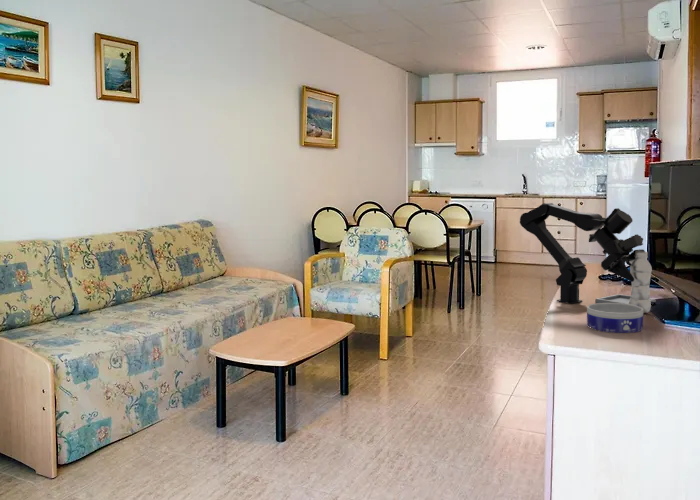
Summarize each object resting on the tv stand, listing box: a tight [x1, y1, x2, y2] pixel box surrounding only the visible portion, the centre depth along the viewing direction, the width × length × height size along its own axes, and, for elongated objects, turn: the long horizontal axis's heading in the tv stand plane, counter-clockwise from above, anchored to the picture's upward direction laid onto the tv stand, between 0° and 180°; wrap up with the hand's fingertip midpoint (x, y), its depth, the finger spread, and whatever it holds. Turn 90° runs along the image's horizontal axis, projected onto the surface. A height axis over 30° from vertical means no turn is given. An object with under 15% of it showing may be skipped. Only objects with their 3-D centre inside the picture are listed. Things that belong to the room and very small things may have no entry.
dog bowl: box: [586, 303, 644, 334], centre depth 180 cm, size 15×15×6 cm
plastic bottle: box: [629, 250, 653, 314], centre depth 196 cm, size 6×7×20 cm
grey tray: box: [594, 293, 657, 304], centre depth 213 cm, size 14×14×2 cm
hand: (641, 279), depth 196 cm, fingers open, 9 cm apart
